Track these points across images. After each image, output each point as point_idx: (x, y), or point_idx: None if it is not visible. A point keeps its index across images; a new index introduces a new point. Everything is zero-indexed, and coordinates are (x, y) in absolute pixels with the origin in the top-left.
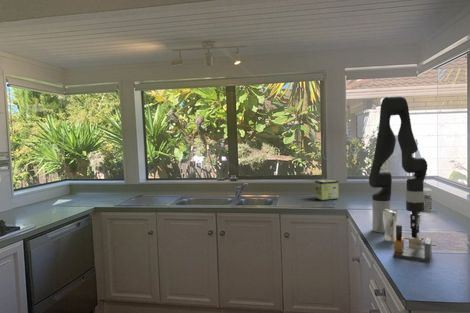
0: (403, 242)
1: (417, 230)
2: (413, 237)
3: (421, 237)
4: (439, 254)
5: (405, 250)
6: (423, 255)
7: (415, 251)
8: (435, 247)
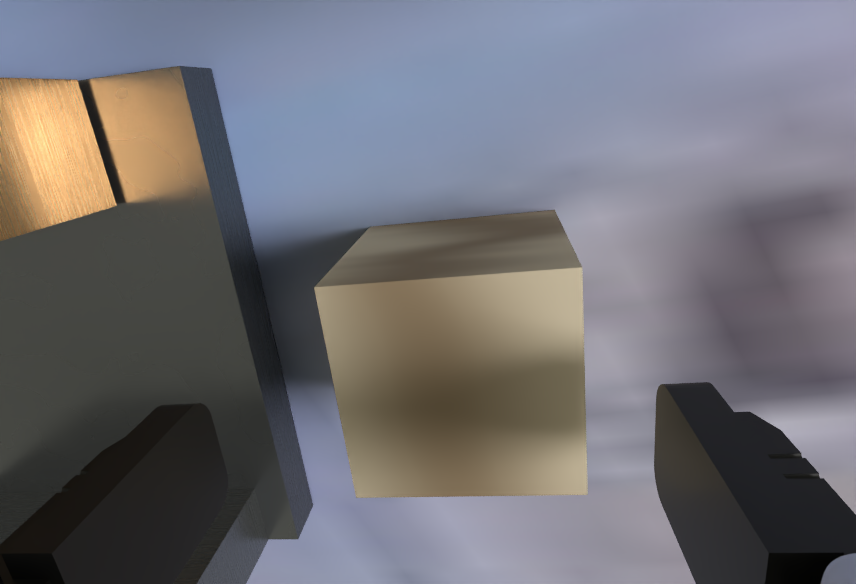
0: (3, 235)
1: (676, 511)
2: (448, 360)
3: (535, 492)
4: (350, 571)
5: (57, 249)
6: (37, 477)
7: (117, 378)
8: (638, 526)
